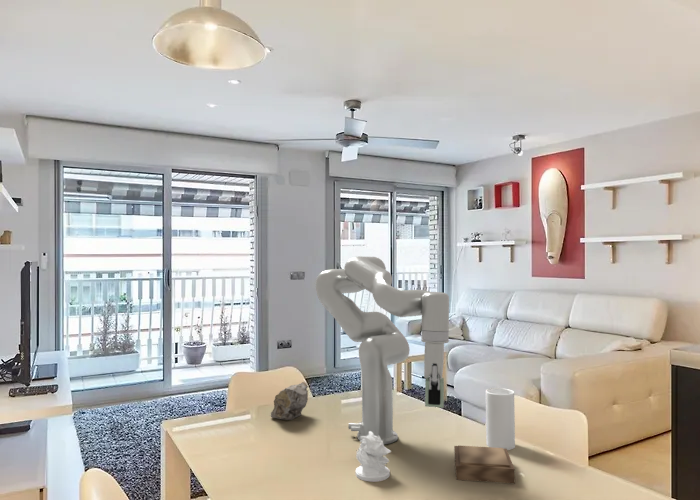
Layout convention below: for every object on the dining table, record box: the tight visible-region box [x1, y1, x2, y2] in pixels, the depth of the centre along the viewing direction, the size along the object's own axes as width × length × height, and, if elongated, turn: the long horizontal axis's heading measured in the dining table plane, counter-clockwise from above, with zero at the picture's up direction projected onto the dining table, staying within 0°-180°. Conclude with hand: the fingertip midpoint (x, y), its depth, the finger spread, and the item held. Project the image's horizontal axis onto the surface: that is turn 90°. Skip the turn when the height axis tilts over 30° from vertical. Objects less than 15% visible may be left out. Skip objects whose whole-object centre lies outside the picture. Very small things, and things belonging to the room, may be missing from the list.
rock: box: [270, 381, 309, 421], centre depth 177 cm, size 16×10×15 cm, turn 157°
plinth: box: [453, 444, 516, 484], centre depth 131 cm, size 14×14×4 cm
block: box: [424, 376, 445, 409], centre depth 140 cm, size 5×5×7 cm
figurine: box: [354, 431, 392, 483], centre depth 129 cm, size 12×9×10 cm
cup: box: [485, 387, 516, 451], centre depth 150 cm, size 8×8×16 cm
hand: (434, 400), depth 140 cm, fingers closed on block, 5 cm apart
